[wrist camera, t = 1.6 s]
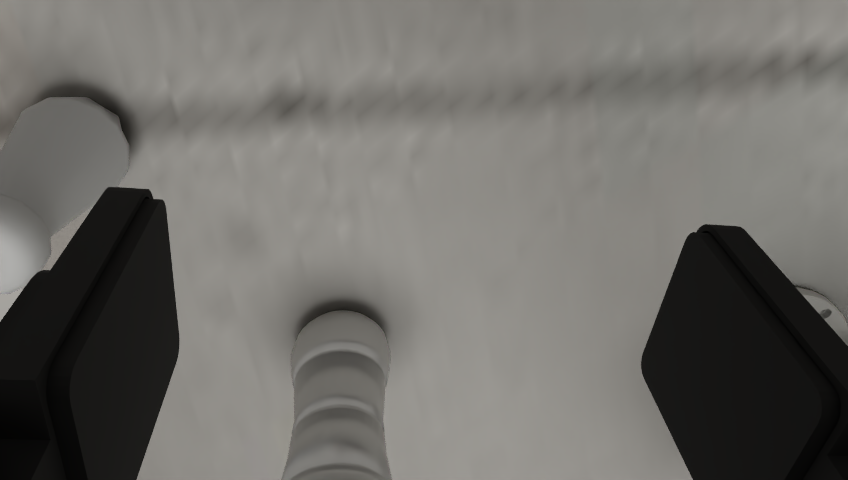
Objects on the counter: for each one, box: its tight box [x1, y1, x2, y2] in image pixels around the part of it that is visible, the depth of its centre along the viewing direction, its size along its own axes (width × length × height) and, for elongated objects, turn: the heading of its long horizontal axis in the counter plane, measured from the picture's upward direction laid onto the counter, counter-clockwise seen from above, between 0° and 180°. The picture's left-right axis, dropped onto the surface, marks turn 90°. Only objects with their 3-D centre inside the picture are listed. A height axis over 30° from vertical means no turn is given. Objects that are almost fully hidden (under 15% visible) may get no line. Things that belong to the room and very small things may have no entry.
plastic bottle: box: [281, 310, 392, 480], centre depth 39 cm, size 6×7×20 cm
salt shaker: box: [0, 97, 129, 294], centre depth 33 cm, size 6×6×13 cm
